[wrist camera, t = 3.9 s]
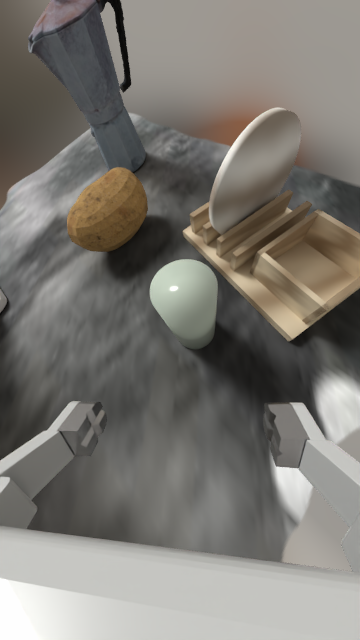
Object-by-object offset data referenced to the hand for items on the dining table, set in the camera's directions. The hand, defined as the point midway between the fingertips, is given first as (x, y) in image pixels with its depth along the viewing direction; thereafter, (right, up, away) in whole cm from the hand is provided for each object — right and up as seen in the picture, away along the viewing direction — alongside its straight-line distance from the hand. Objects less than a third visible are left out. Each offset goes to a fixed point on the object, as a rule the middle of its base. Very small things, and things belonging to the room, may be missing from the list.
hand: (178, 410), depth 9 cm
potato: (-10, +19, +23) cm, 32 cm away
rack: (+13, +14, +17) cm, 25 cm away
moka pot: (-11, +39, +31) cm, 51 cm away
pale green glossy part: (+2, +3, +15) cm, 15 cm away
